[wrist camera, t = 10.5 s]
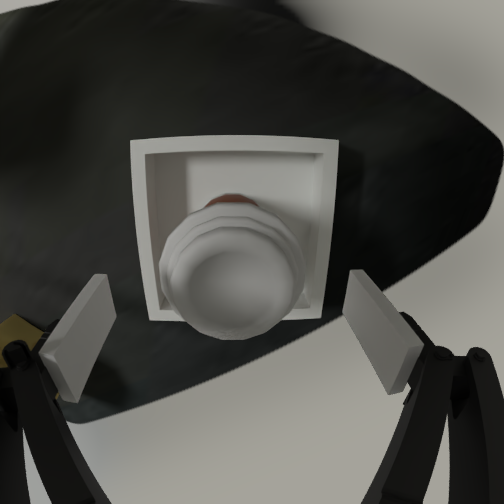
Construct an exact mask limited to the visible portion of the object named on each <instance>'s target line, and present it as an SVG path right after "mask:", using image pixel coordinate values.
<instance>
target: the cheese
mask: <svg viewBox="0 0 504 504" xmlns="http://www.w3.org/2000/svg"><path fill="white" fill-rule="evenodd" d="M43 333H44V332H42V331H41V330H39V329H37V328H36V327H34V326H33V325H31V324H30V323H28V322H27V321H25V320H24V319H22V318H21V317H19V316H18V315H16V314H14V315H12V316H11V317H10V318H8V319H7V320H5V321H4V322H3V323H1V324H0V368H3V367H8V366H7V364H6V362H5V360H4V358H3V356H2V350H3V348H4V347H5V346H6V345H7V344H8V343H10V342H12V341H15V340H23V341H25V342H26V343H27V345H28V347H29V349H30V351H31V350H32V349H33V347H34V346H35V345H36V343H37V342H38V340H39V339H41V336H42V334H43ZM58 395H59V392H58V393H57V395H56V397H55V398H56V399H57V397H58Z"/></svg>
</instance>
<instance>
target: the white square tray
mask: <svg viewBox="0 0 504 504" xmlns="http://www.w3.org/2000/svg"><path fill="white" fill-rule="evenodd" d="M130 147H131V171H132V187H133V201H134V212H135V223H136V232H137V241H138V249H139V257H140V264H141V271H142V278H143V284H144V291H145V297H146V302H147V308H148V313H149V319H150V320H161V321H185V320H184V319H182V318H181V317H180V316H179V315H177V314H176V313H175V312H174V310H173V309H172V307H171V305H170V303H169V302H168V300H167V298H166V297H165V295H164V293H163V291H162V289H161V280H160V271H159V261H160V258H161V255H162V252H163V250H164V247H165V244H166V241H167V238H168V236H169V234H170V233H171V232H172V231H173V230H174V229H175V228H176V227H177V226H178V225H179V224H180V223H181V222H182V221H183V220H184V219H185V218H186V217H187V216H188V215H189V214H190V213H193V212H195V211H197V210H200V209H202V208H203V207H204V206H205V205H206V204H207V203H208V202H209V201H210V200H211V199H212V198H214V197H216V196H219V195H221V194H224V193H241V194H243V195H245V196H248V197H250V198H252V199H253V200H254V201H255V202H256V203H257V204H258V205H259V206H260V207H261V208H263V209H265V210H267V211H270V212H272V213H274V214H277V215H278V217H279V218H280V219H281V220H282V221H283V222H284V223H285V224H286V225H287V226H288V227H289V228H290V229H291V230H292V231H293V233H294V234H295V235H296V236H297V238H298V240H299V243H300V246H301V249H302V252H303V255H304V258H305V261H306V273H305V281H304V289H303V292H302V293H301V295H300V297H299V298H298V300H297V302H296V304H295V305H294V307H293V309H292V310H291V312H290V313H289V314H288V315H286V316H285V317H284V318H283V319H282V320H292V319H312V318H321V313H322V306H323V299H324V292H325V285H326V278H327V270H328V262H329V254H330V245H331V236H332V227H333V217H334V206H335V194H336V180H337V165H338V147H339V140H331V139H319V138H305V137H287V136H257V135H215V136H185V137H167V138H153V139H141V140H131V141H130Z"/></svg>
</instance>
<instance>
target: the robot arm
mask: <svg viewBox="0 0 504 504" xmlns="http://www.w3.org/2000/svg"><path fill="white" fill-rule="evenodd" d="M343 314H344V316H345V318H346V319H347V321H348V323H349V325H350V326H351V328H352V330H353V332H354V333H355V335H356V337H357V339H358V340H359V342H360V344H361V346H362V348H363V349H364V351H365V353H366V355H367V357H368V358H369V360H370V362H371V364H372V366H373V368H374V369H375V371H376V373H377V375H378V377H379V379H380V381H381V382H382V384H383V386H384V388H385V390H386V392H387V394H388V395H391V394H395V393H399V392H402V391H403V390H404V388H405V386H406V384H407V382H408V384H409V386H410V387H411V389H410V391H409V393H408V395H407V397H406V399H405V401H404V403H403V405H404V408H403V411H402V413H401V416H400V419H399V422H398V424H397V427H396V429H395V432H394V435H393V437H392V440H391V442H390V444H389V447H388V449H387V451H386V454H385V456H384V458H383V460H382V463H381V465H380V467H379V469H378V471H377V473H376V475H375V477H374V479H373V481H372V484H371V485H370V487H369V489H368V491H367V494H366V495H365V497H364V499H363V501H362V502H361V504H423V499H424V496H425V493H426V491H427V488H428V485H429V482H430V479H431V476H432V472H433V469H434V465H435V462H436V459H437V455H438V451H439V447H440V444H441V440H442V435H443V431H444V427H445V422H446V417H447V415H448V428H449V450H450V480H449V502H448V504H504V398H503V394H502V391H501V387H500V383H499V380H498V377H497V373H496V370H495V367H494V364H493V361H492V358H491V356H490V354H489V353H488V352H487V351H486V350H484V349H482V348H479V347H473V348H471V349H470V350H469V351H468V353H467V355H466V356H454V354H452V352H451V351H450V350H449V349H447V348H445V347H442V346H435V345H434V343H433V342H432V341H431V340H430V338H429V337H428V336H427V335H426V334H425V332H424V331H423V330H421V327H420V326H419V325H417V323H416V321H415V320H414V319H413V318H412V317H411V316H409V315H408V314H406V313H404V312H398V311H397V310H396V308H395V307H394V306H393V305H392V304H391V302H390V301H389V300H388V299H387V298H386V296H385V295H384V294H383V293H382V292H381V290H380V289H379V288H378V287H377V286H376V285H375V283H374V282H373V281H372V280H371V279H370V278H369V276H368V275H367V274H366V273H365V272H364V271H363V270H350V274H349V280H348V285H347V291H346V296H345V301H344V307H343ZM115 319H116V313H115V309H114V305H113V300H112V296H111V292H110V287H109V282H108V278H107V274H94V276H93V277H92V278H91V279H90V281H89V282H88V283H87V285H86V286H85V287H84V289H83V290H82V291H81V292H80V294H79V295H78V297H77V298H76V299H75V301H74V302H73V303H72V305H71V306H70V307H69V309H68V310H67V312H66V313H65V314H64V316H63V317H62V319H61V320H59V319H56V320H55V321H54V322H52V323H51V324H50V325H49V326H48V327H47V329H46V330H45V332H44V333H43V334H42V336H41V339H39V340H38V342H37V343H36V345H35V346H34V347H33V349H32V350H31V351H30V349H29V347H28V345H27V343H26V342H25V341H23V340H15V341H12V342H10V343H8V344H7V345H6V346H5V347H4V348H3V350H2V356H3V358H4V360H5V362H6V364H7V366H8V367H3V368H0V504H30V497H29V491H28V485H27V478H26V469H25V459H24V447H23V429H24V433H25V436H26V439H27V442H28V445H29V448H30V451H31V454H32V457H33V459H34V462H35V465H36V468H37V470H38V473H39V475H40V478H41V480H42V483H43V485H44V487H45V489H46V492H47V494H48V496H49V498H50V500H51V503H52V504H111V502H110V501H109V499H108V498H107V496H106V494H105V493H104V491H103V490H102V488H101V487H100V485H99V483H98V482H97V480H96V478H95V477H94V475H93V473H92V472H91V470H90V468H89V466H88V464H87V463H86V461H85V459H84V457H83V455H82V453H81V451H80V449H79V448H78V446H77V444H76V442H75V440H74V438H73V436H72V434H71V431H70V429H69V427H68V425H67V422H66V420H65V418H64V416H63V413H62V411H61V409H60V406H59V404H58V402H57V400H56V398H55V397H56V395H57V393H58V392H59V394H60V395H61V397H62V399H63V400H64V401H69V402H74V403H78V401H79V398H80V396H81V394H82V391H83V389H84V386H85V384H86V382H87V379H88V377H89V375H90V372H91V370H92V368H93V365H94V363H95V361H96V359H97V357H98V354H99V352H100V350H101V348H102V346H103V344H104V341H105V339H106V337H107V335H108V333H109V331H110V329H111V327H112V325H113V323H114V321H115Z"/></svg>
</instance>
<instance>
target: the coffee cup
mask: <svg viewBox="0 0 504 504" xmlns="http://www.w3.org/2000/svg"><path fill="white" fill-rule="evenodd" d="M159 271H160V280H161V289H162V291H163V293H164V295H165V297H166V298H167V300H168V302H169V303H170V305H171V307H172V309H173V310H174V312H175V313H176V314H177V315H179V316H180V317H181V318H182V319H184V320H185V321H186V322H187V323H189V324H190V325H191V326H192V327H194V328H195V329H196V330H198V331H199V332H200V333H203V334H206V335H209V336H212V337H215V338H218V339H221V340H244V339H247V338H250V337H253V336H256V335H259V334H262V333H265V332H266V331H268V330H269V329H270V328H272V327H273V326H274V325H275V324H277V323H278V322H279V321H281V320H282V319H283V318H284V317H285V316H286V315H288V314H289V313H290V312H291V310H292V309H293V307H294V305H295V304H296V302H297V300H298V298H299V297H300V295H301V293H302V292H303V289H304V281H305V273H306V261H305V258H304V255H303V252H302V249H301V246H300V243H299V240H298V238H297V236H296V235H295V234H294V233H293V231H292V230H291V229H290V228H289V227H288V226H287V225H286V224H285V223H284V222H283V221H282V220H281V219H280V218H279V217H278V215H277V214H274V213H272V212H270V211H267V210H265V209H263V208H261V207H260V206H259V205H258V204H257V203H256V202H255V201H254V200H253V199H252V198H250V197H248V196H245V195H243V194H241V193H224V194H221V195H219V196H216V197H214V198H212V199H211V200H210V201H209V202H208V203H207V204H206V205H205V206H204V207H203V208H202V209H200V210H197V211H195V212H193V213H190V214H189V215H188V216H187V217H186V218H185V219H184V220H183V221H182V222H181V223H180V224H179V225H178V226H177V227H176V228H175V229H174V230H173V231H172V232H171V233H170V234H169V236H168V238H167V241H166V244H165V247H164V250H163V252H162V255H161V258H160V261H159Z"/></svg>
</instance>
